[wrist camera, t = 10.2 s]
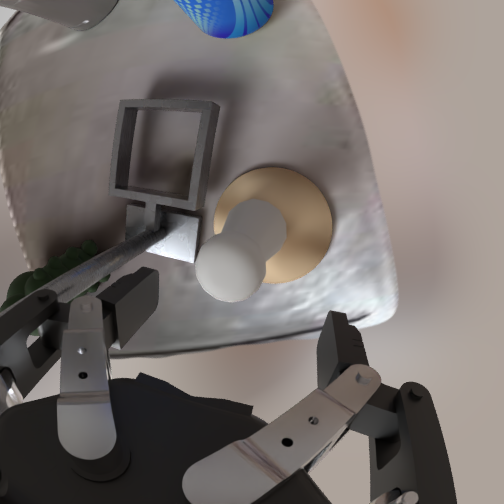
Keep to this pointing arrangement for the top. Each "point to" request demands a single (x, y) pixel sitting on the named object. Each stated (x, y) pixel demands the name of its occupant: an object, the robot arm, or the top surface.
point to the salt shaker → (241, 251)
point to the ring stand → (147, 202)
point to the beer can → (228, 16)
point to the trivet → (285, 218)
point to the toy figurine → (51, 275)
